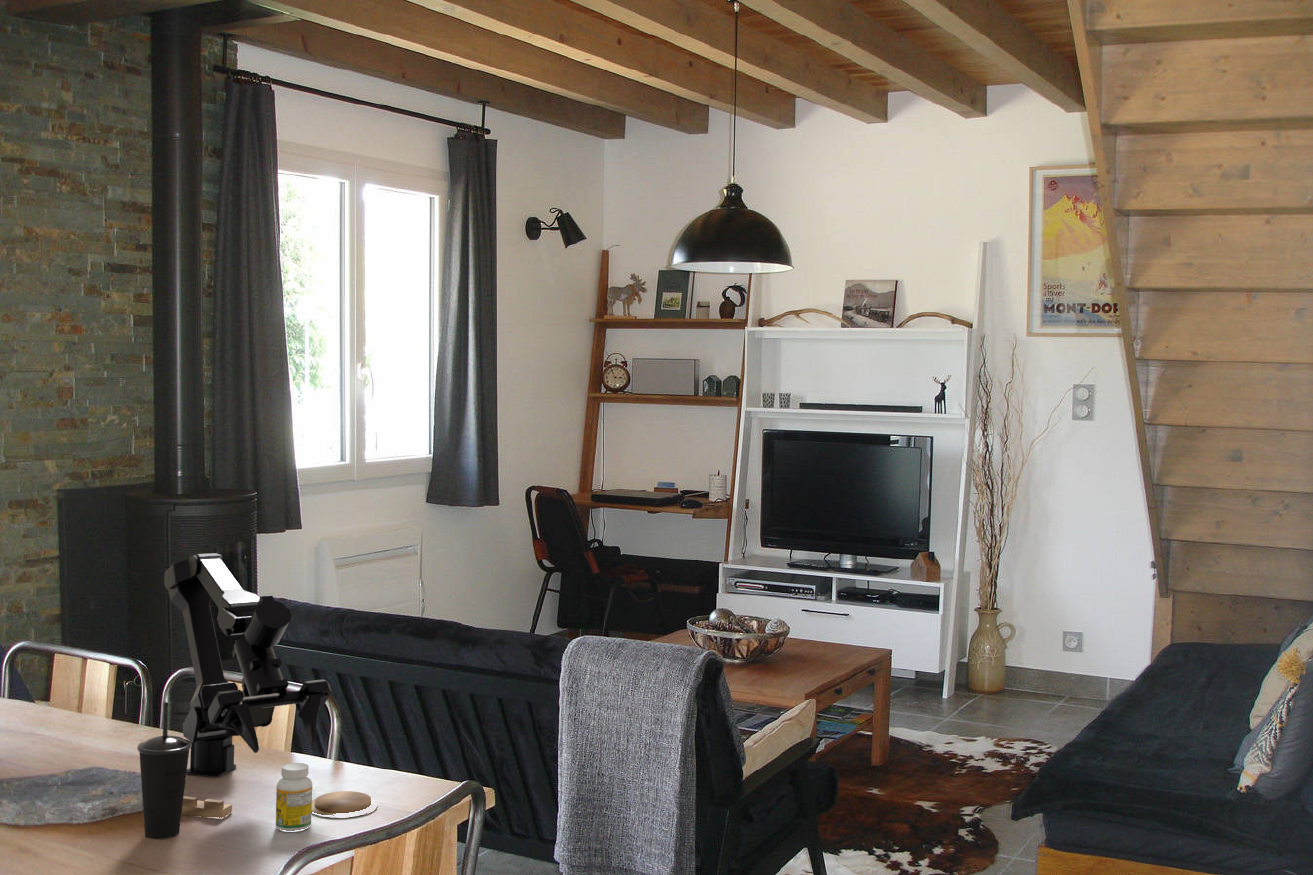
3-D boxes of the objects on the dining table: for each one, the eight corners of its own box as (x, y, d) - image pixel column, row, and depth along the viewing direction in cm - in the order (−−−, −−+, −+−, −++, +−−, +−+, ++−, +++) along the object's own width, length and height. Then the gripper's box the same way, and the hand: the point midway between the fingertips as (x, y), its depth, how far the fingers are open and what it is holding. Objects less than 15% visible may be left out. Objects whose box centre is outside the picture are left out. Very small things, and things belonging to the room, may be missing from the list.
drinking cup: (172, 821, 193) (176, 694, 193) (198, 833, 189) (202, 703, 188) (125, 833, 188) (128, 702, 187) (151, 846, 183) (155, 711, 182)
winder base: (295, 814, 199) (295, 806, 199) (327, 793, 210) (327, 786, 210) (359, 821, 197) (359, 814, 197) (388, 800, 208) (388, 793, 208)
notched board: (175, 814, 197) (176, 797, 197) (186, 808, 200) (187, 791, 200) (221, 819, 195) (222, 802, 195) (231, 813, 198) (232, 796, 198)
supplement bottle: (311, 832, 191) (313, 770, 191) (275, 834, 190) (277, 772, 189) (310, 820, 196) (312, 760, 196) (275, 822, 195) (277, 761, 195)
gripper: (296, 685, 214) (323, 764, 206) (188, 699, 202) (211, 783, 194) (318, 648, 208) (346, 728, 200) (207, 659, 196) (232, 745, 188)
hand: (285, 746), depth 196 cm, fingers open, 9 cm apart
